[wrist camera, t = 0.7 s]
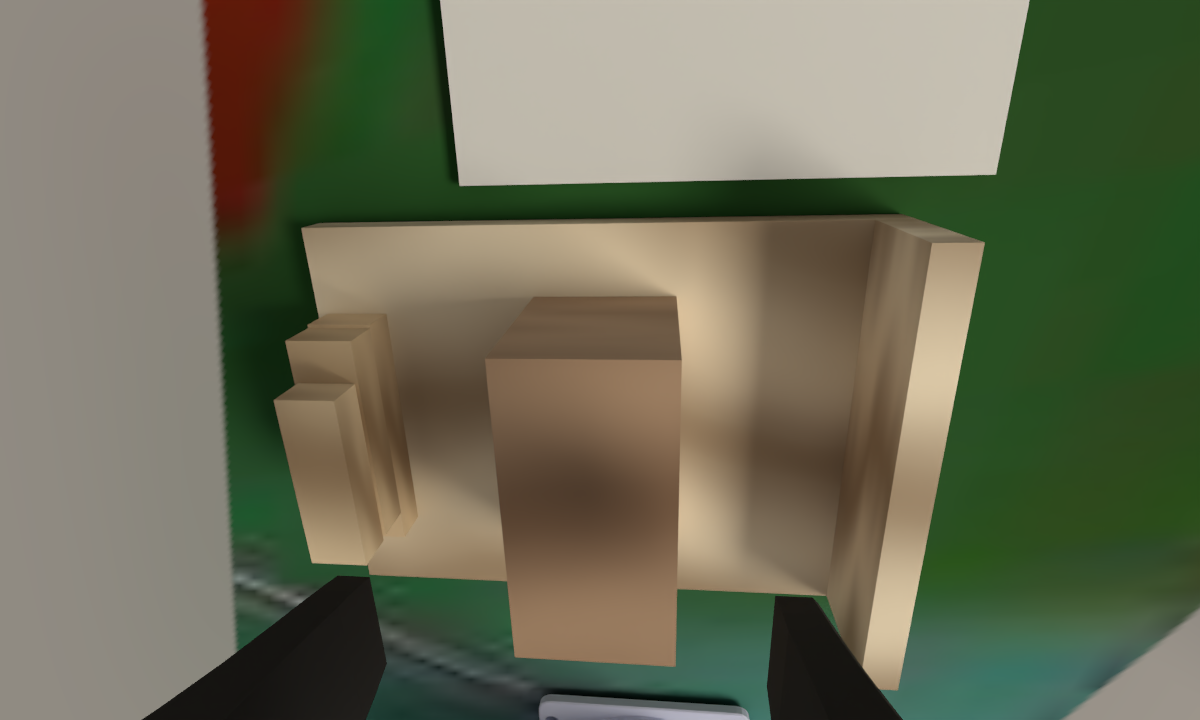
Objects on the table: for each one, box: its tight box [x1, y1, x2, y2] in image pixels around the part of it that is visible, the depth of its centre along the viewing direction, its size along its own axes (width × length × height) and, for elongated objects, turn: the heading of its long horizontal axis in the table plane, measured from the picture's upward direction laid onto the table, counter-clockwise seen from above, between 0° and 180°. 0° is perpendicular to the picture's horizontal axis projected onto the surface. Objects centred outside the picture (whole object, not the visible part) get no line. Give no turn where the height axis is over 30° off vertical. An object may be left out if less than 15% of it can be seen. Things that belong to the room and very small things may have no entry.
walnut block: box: [485, 296, 682, 667], centre depth 16 cm, size 8×4×5 cm, turn 2°
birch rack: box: [301, 214, 985, 690], centre depth 17 cm, size 12×16×4 cm
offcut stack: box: [274, 314, 418, 565], centre depth 17 cm, size 7×2×3 cm, turn 2°
